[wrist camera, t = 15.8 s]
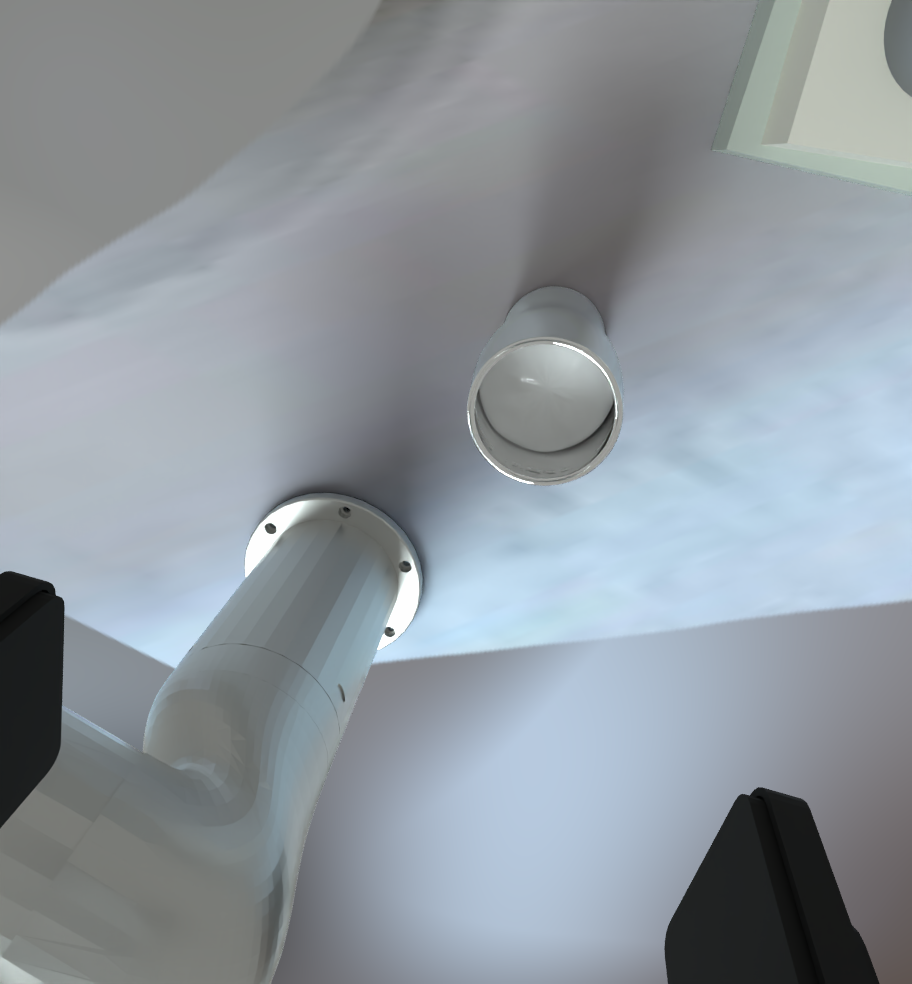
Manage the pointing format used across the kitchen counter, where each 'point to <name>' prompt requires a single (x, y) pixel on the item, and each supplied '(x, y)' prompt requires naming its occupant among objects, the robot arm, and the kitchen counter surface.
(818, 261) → the kitchen counter surface
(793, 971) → the robot arm
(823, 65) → the tower top block
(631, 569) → the kitchen counter surface
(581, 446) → the beer glass
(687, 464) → the kitchen counter surface
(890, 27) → the cylinder
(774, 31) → the tower bottom block
